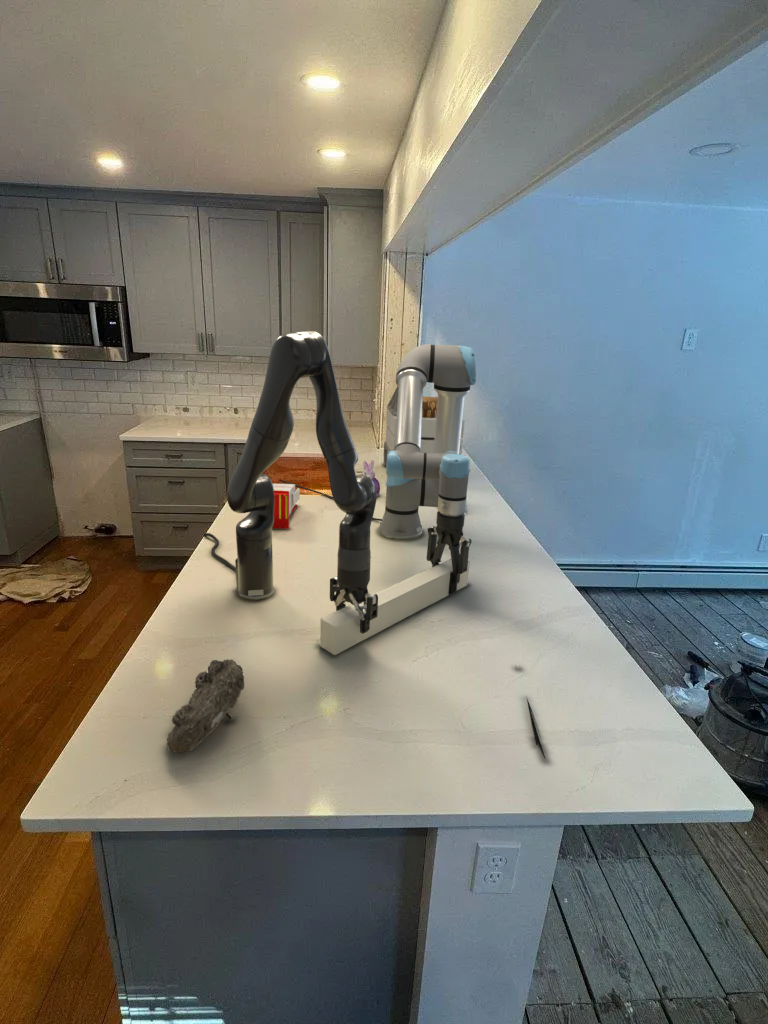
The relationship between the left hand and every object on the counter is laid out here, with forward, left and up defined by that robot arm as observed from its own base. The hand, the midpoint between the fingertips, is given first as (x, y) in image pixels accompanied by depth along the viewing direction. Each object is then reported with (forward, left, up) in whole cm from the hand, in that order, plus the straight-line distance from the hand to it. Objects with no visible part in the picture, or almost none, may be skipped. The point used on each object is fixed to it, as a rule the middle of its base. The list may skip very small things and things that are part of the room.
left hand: (352, 625), depth 134 cm
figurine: (-65, +88, -4) cm, 110 cm away
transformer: (-70, +133, -4) cm, 150 cm away
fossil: (-2, -38, -4) cm, 39 cm away
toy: (-74, +46, -4) cm, 87 cm away
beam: (+2, +18, -4) cm, 19 cm away
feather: (+44, +4, -4) cm, 44 cm away
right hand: (+4, +36, -3) cm, 36 cm away
